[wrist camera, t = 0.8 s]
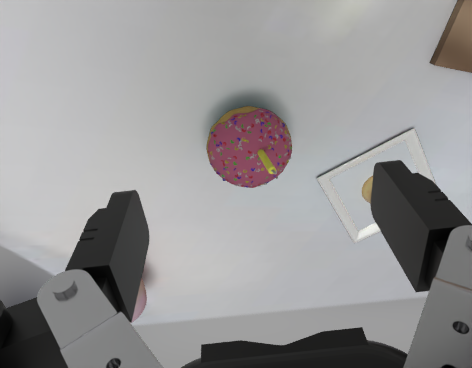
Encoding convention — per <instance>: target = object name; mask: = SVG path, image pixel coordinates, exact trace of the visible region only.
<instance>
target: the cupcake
mask: <svg viewBox="0 0 472 368" xmlns="http://www.w3.org/2000/svg"><path fill="white" fill-rule="evenodd" d="M207 153H208V158H209V161H210V164H211V165H212V167H213V169H214V171H215V172H216V173H217V174H218V175H219V176H220V177H222V178H223V181H225V180H226V181H227V182H229V183H231V184H234V185H236V186H241V187H249V188H254V187H257V186H260V185H263V184H267V183H268V182H269V181H271V180H273V179H274V178H276V179H277V178H278V175H279V174H280V173H281V172H283V170H284V168H285V167H286V165H287V163H288V162H289V159H290V158H291V153H292V142H291V136H290V133H289V131H288V128H287V126H286V124H285V123H284V121H283V120H281V119H280V118H279V117H278V116H276V115H275V114H274V113H273V112H271V111H269V110H266V109H261V108H257V107H251V106H245V107H241V108H237V109H233V110H230V111H228V112H227V113H226V114H224V115H223V116H222V117H221V118H220V119H219V120H218V121H217V122H216V123H215V124H214V125H213V126H212V128H211V130H210V134H209V137H208V141H207Z"/></svg>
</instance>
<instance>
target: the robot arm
mask: <svg viewBox="0 0 472 368" xmlns="http://www.w3.org/2000/svg"><path fill="white" fill-rule="evenodd" d="M371 211H372V215H373V218H374V220H375V222H376V223H377V225H378V227H379V229H380V230H381V232H382V234H383V236H384V237H385V239H386V241H387V243H388V244H389V246H390V248H391V250H392V251H393V253H394V255H395V257H396V258H397V260H398V262H399V264H400V265H401V267H402V269H403V270H404V272H405V274H406V276H407V277H408V279H409V281H410V283H411V284H412V286H413V288H414V290H415V291H416V292H422V291H429V293H428V296H427V299H426V302H425V305H424V308H423V311H422V314H421V317H420V320H419V323H418V326H417V329H416V332H415V335H414V338H413V341H412V344H411V347H410V349H409V352H408V354H406V353H405V352H403V351H401V350H398V349H396V348H394V347H391V346H388V345H386V344H383V343H379V342H374V341H368V340H366V337H365V334H364V331H363V329H362V327H361V328H352V329H342V330H334V331H324V332H320V333H317V334H315V335H312V336H309V337H306V338H304V339H301V340H298V341H295V342H293V343H290V344H287V345H271V344H264V343H256V342H248V341H232V342H222V343H214V344H204V345H201V358H199V359H197V360H194V361H192V362H190V363H188V364H186V365H185V366H183V367H181V368H472V224H471V223H470V222H469V221H468V219H467V218H466V217H465V216H464V215H463V214H462V213H461V212H460V211H459V210H458V208H457V207H456V206H455V205H454V204H453V203H452V202H451V201H450V200H448V197H447V196H446V195H445V194H444V193H443V192H441V190H440V189H439V188H438V186H437V185H436V184H435V183H434V182H433V181H432V180H430V179H428V178H427V177H425V176H423V175H421V174H419V173H413V174H412V173H411V171H410V170H409V169H408V168H407V167H406V166H405V164H404V163H403V162H402V161H400V160H396V161H387V162H379V163H376V164H375V166H374V173H373V183H372V192H371ZM148 246H149V229H148V225H147V221H146V218H145V215H144V211H143V208H142V205H141V201H140V198H139V195H138V193H137V191H136V190H132V191H123V192H115V193H113V194H112V195H111V198H110V200H109V203H108V205H107V208H103V209H98V210H97V211H96V212H95V213H94V214H93V215H92V216H91V217H90V218H89V219H88V221H87V224H86V226H85V228H84V232H82V235H81V237H80V241H78V243H77V245H76V248H75V250H74V252H73V254H72V256H71V259H70V261H69V263H68V265H67V267H66V270H65V272H62V273H59V274H57V275H56V276H54V277H52V278H51V279H49V280H48V281H47V282H46V283H45V284H44V285H43V286H42V287H41V289H40V290H39V293H38V295H37V297H36V298H34V299H31V300H28V301H25V302H23V303H20V304H18V305H14V306H11V307H8V308H6V307H5V306H4V304H3V303H2V301H0V368H163V366H162V365H161V364H160V362H159V361H158V360H157V358H156V357H155V356H154V354H153V353H152V352H151V350H150V349H149V348H148V346H147V345H146V343H145V342H144V341H143V340H142V338H141V337H140V335H139V334H138V333H137V332H136V330H135V329H134V327H133V326H132V325H131V323H130V322H132V319H133V314H134V310H135V305H136V300H137V296H138V291H139V287H140V282H141V278H142V273H143V268H144V264H145V259H146V255H147V250H148Z"/></svg>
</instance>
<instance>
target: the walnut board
mask: <svg viewBox="0 0 472 368" xmlns="http://www.w3.org/2000/svg"><path fill="white" fill-rule="evenodd" d="M430 63H432V64H433V65H436V66H441V67H446V68H451V69H456V70H461V71H466V72H471V73H472V0H458V1H457V3H456V6H455V8H454V10H453V12H452V15H451V17H450V19H449V21H448V23H447V26H446V28H445V30H444V32H443V35H442V37H441V39H440V41H439V44H438V46H437V48H436V50H435V52H434V55H433V57H432V59H431V61H430Z"/></svg>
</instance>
